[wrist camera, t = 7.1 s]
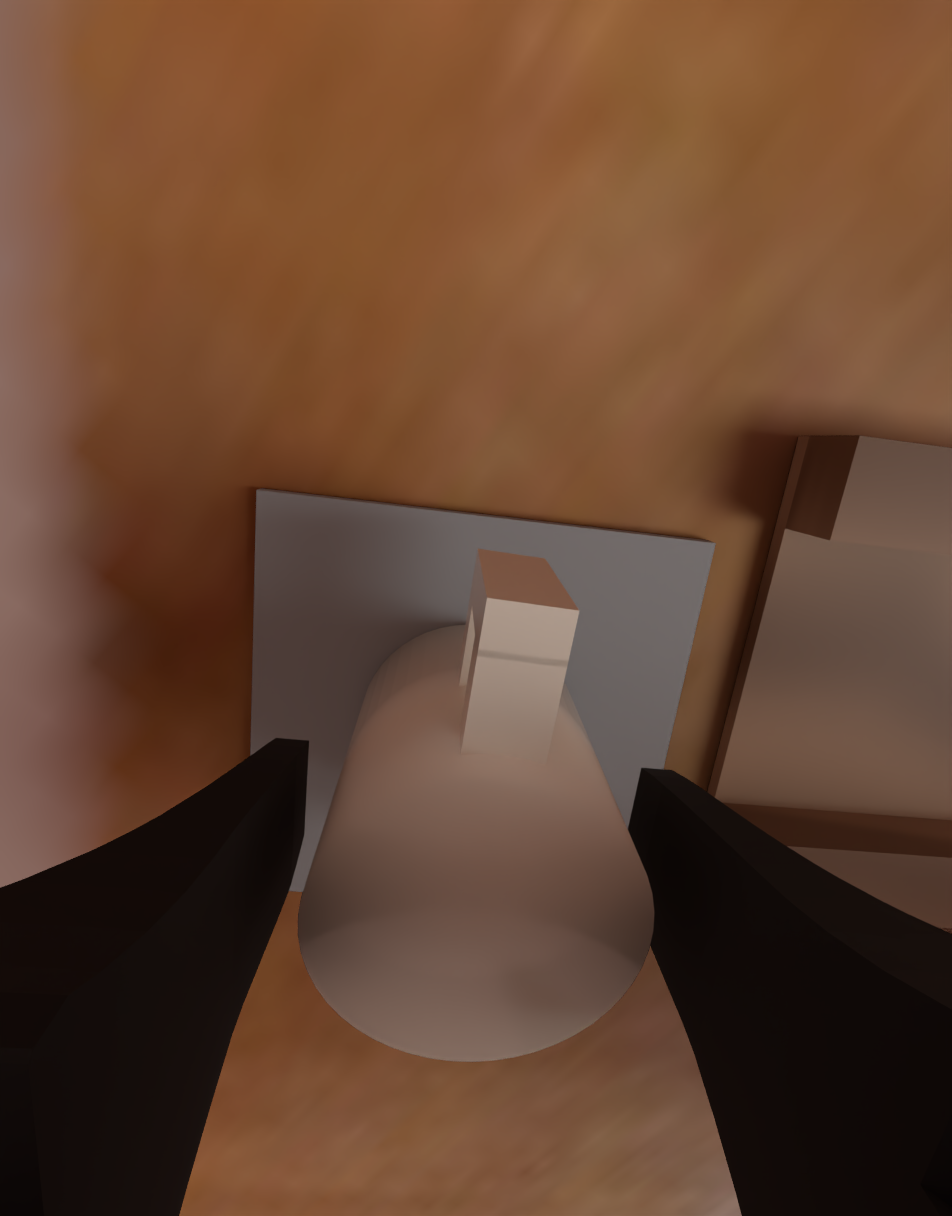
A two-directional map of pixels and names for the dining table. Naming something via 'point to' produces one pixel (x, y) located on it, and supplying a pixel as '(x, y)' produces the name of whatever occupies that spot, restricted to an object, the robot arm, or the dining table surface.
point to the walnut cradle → (853, 673)
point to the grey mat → (457, 623)
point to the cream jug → (476, 842)
